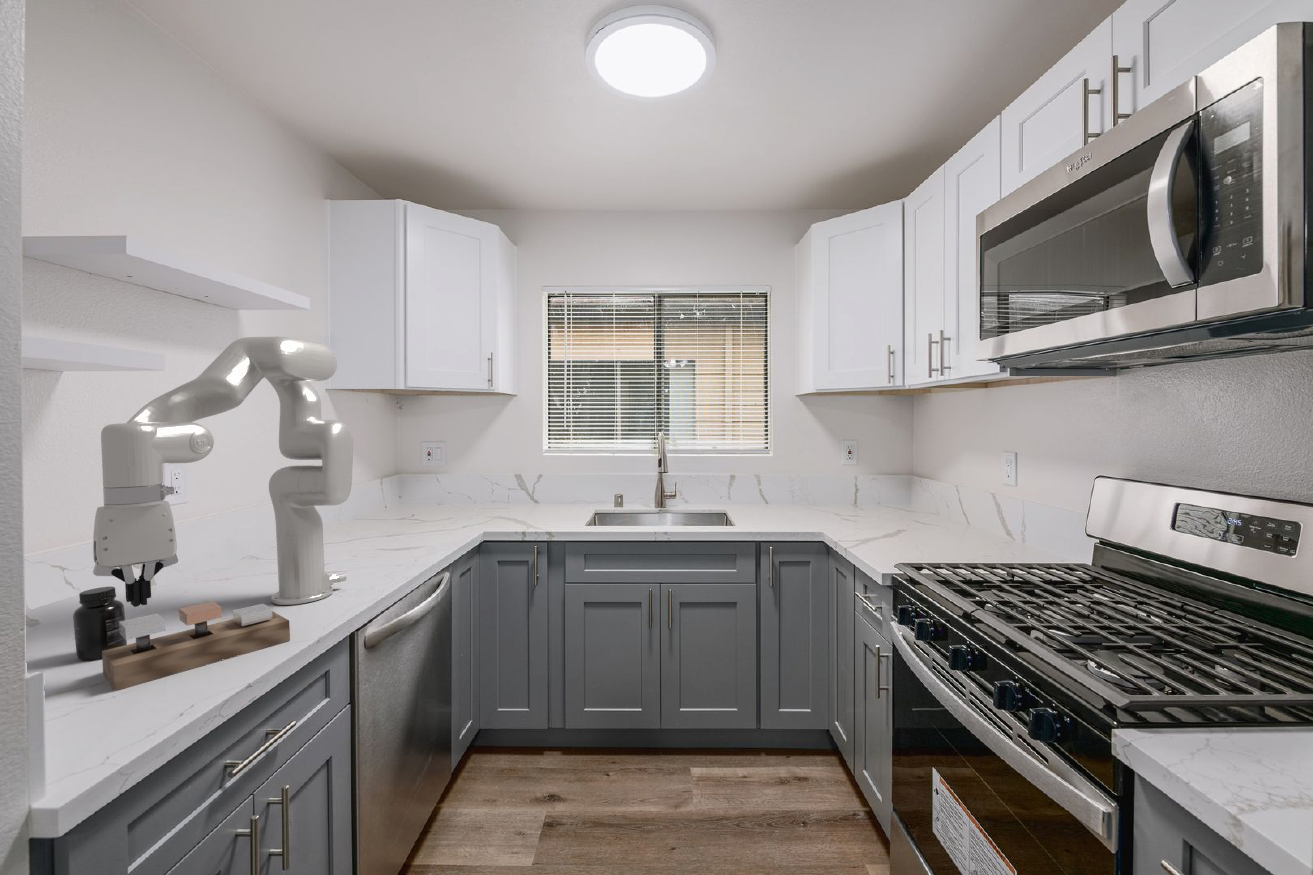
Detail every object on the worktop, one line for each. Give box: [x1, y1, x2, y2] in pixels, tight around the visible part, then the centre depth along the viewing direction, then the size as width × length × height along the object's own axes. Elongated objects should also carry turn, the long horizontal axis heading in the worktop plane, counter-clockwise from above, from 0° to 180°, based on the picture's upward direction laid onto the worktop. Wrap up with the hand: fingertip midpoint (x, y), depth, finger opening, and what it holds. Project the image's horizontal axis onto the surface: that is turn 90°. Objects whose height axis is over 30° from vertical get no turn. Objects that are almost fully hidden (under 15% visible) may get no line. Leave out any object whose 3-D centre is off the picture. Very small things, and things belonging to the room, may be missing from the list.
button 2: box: [232, 603, 273, 626], centre depth 111 cm, size 5×5×6 cm
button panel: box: [102, 610, 291, 692], centre depth 105 cm, size 25×10×4 cm, turn 142°
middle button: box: [178, 601, 223, 639], centre depth 105 cm, size 5×5×6 cm
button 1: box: [119, 613, 166, 654], centre depth 99 cm, size 5×5×6 cm
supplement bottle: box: [72, 586, 128, 662], centre depth 107 cm, size 7×7×12 cm
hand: (138, 604), depth 98 cm, fingers closed
